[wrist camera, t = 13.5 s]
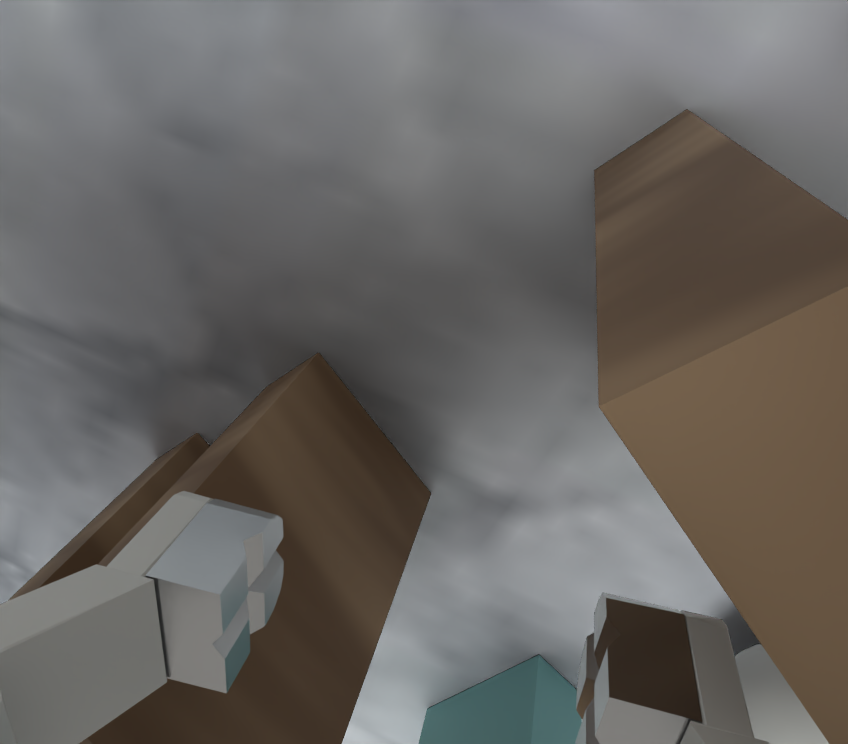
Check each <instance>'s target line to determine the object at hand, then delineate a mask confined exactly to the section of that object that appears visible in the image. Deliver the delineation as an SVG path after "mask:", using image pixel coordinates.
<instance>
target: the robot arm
mask: <svg viewBox="0 0 848 744" xmlns="http://www.w3.org/2000/svg"><path fill="white" fill-rule="evenodd" d="M282 539H283V519H282V518H281V517H279V516H278V515H276V514H272V513H268V512H264V511H260V510H257V509H253V508H249V507H245V506H242V505H238V504H234V503H230V502H227V501H223V500H219V499H212V498H208V497H205V496H201V495H197V494H194V493H190V492H186V491H182V492H179V493H177V494H175V495H173V496H172V497H171V498H170V499H169V500H168V501H167V502H166V503H165V505H164V506H163V507H162V508H161V509H160V510H159V511H158V512H157V513H156V514H155V515H154V516H153V517H152V518H151V519H150V521H149V522H148V523H147V524H146V525H145V526H144V527H143V528H142V529H141V530H140V531H139V532H138V533H137V534H136V535H135V537H134V538H133V539H132V540H131V541H130V542H129V543H128V544H127V545H126V546H125V547H124V548H123V549H122V550H121V551H120V553H119V554H118V555H117V556H116V557H115V558H114V559H113V560H112V561H111V562H110V563H109V564H108V565H107V566H106V567H105V566H101V565H97V564H96V565H94V566H91V567H89V568H86V569H84V570H82V571H79V572H77V573H74V574H72V575H69V576H67V577H65V578H62V579H60V580H57V581H55V582H53V583H50V584H48V585H45V586H43V587H40V588H38V589H36V590H33V591H31V592H28V593H26V594H24V595H21V596H19V597H16V598H14V599H12V600H9V601H7V602H4V603H2V604H0V744H79V743H80V742H82V741H83V740H85V739H86V738H88V737H89V736H90V735H92V734H93V733H95V732H96V731H98V730H99V729H101V728H102V727H103V726H105V725H106V724H108V723H109V722H111V721H112V720H114V719H115V718H116V717H118V716H119V715H121V714H122V713H124V712H125V711H126V710H128V709H129V708H131V707H132V706H134V705H135V704H137V703H138V702H139V701H141V700H142V699H144V698H145V697H147V696H148V695H150V694H151V693H152V692H154V691H155V690H157V689H158V688H160V687H161V686H162V685H164V684H165V683H167V678H168V679H172V680H176V681H180V682H184V683H188V684H191V685H195V686H199V687H203V688H207V689H211V690H215V691H219V692H223V693H227V692H228V691H229V689H230V687H231V685H232V683H233V682H234V680H235V678H236V676H237V675H238V673H239V671H240V669H241V668H242V666H243V664H244V662H245V661H246V659H247V657H248V655H249V654H250V634H252V633H254V632H256V631H257V630H259V629H261V628H263V627H264V626H265V625H266V623H267V621H268V620H269V618H270V616H271V614H272V612H273V610H274V608H275V605H276V602H277V599H278V596H279V593H280V590H281V586H282V579H283V568H284V561H283V559H282V558H281V556H280V555H279V554H278V552H277V551H276V549H277V547H278V545H279V544H280V542H281V540H282ZM576 710H577V712H578V714H579V715H580V717H581V718H582V723H581V726H580V729H579V732H578V735H577V738H576V741H575V744H769V742H767V741H764V740H760V739H757V738H754V734H753V730H752V726H751V722H750V718H749V713H748V709H747V705H746V701H745V697H744V693H743V689H742V685H741V680H740V676H739V672H738V668H737V664H736V660H735V656H734V652H733V648H732V643H731V639H730V635H729V631H728V627H727V625H726V624H725V623H724V621H723V620H722V619H718V618H714V617H709V616H705V615H700V614H696V613H691V612H687V611H679V610H677V609H672V608H668V607H664V606H659V605H655V604H651V603H646V602H642V601H638V600H633V599H629V598H624V597H620V596H616V595H611V594H607V593H602V595H601V596H600V598H599V600H598V603H597V606H596V609H595V612H594V633H593V634H591V635H589V636H587V638H586V642H585V645H584V649H583V652H582V657H581V662H580V668H579V673H578V682H577V697H576Z"/></svg>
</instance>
